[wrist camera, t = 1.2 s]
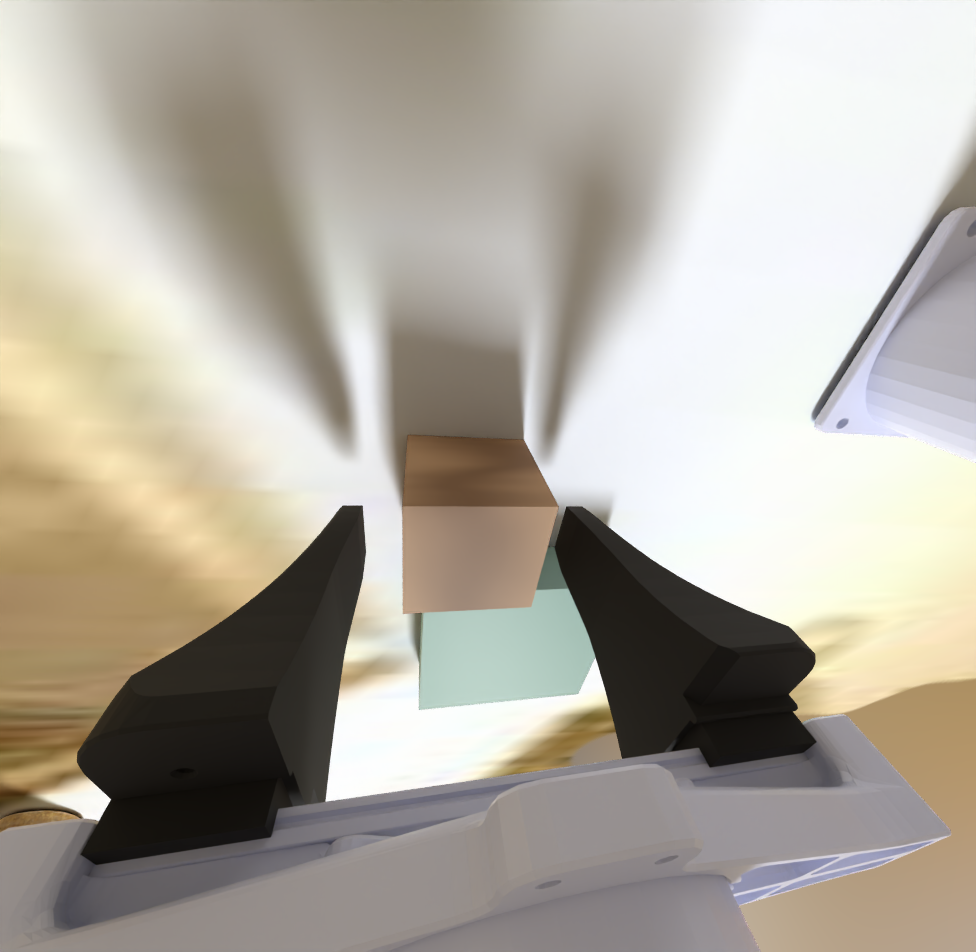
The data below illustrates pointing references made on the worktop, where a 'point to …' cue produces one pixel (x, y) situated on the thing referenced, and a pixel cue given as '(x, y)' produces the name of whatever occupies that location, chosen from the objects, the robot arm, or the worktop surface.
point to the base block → (506, 649)
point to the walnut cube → (473, 524)
